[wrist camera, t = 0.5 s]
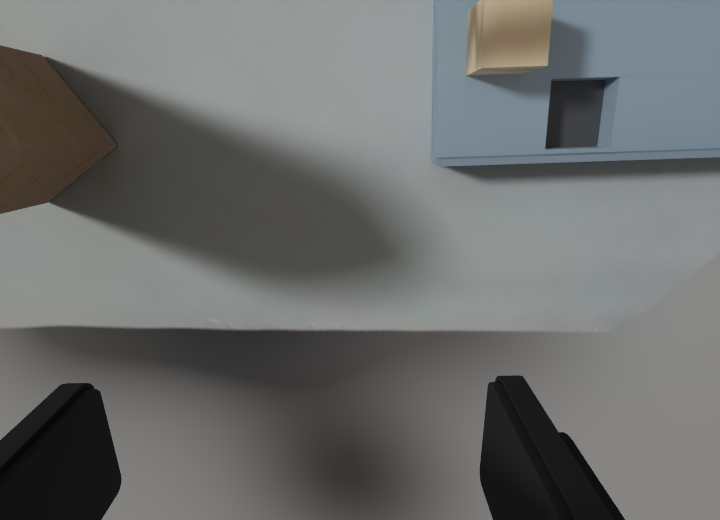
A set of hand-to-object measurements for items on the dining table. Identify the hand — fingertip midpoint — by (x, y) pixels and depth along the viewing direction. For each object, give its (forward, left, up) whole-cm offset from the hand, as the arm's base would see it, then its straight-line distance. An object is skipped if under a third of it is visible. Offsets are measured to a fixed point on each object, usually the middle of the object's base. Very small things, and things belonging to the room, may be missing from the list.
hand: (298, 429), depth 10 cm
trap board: (-14, +25, -34) cm, 44 cm away
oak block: (-14, +14, -32) cm, 37 cm away
